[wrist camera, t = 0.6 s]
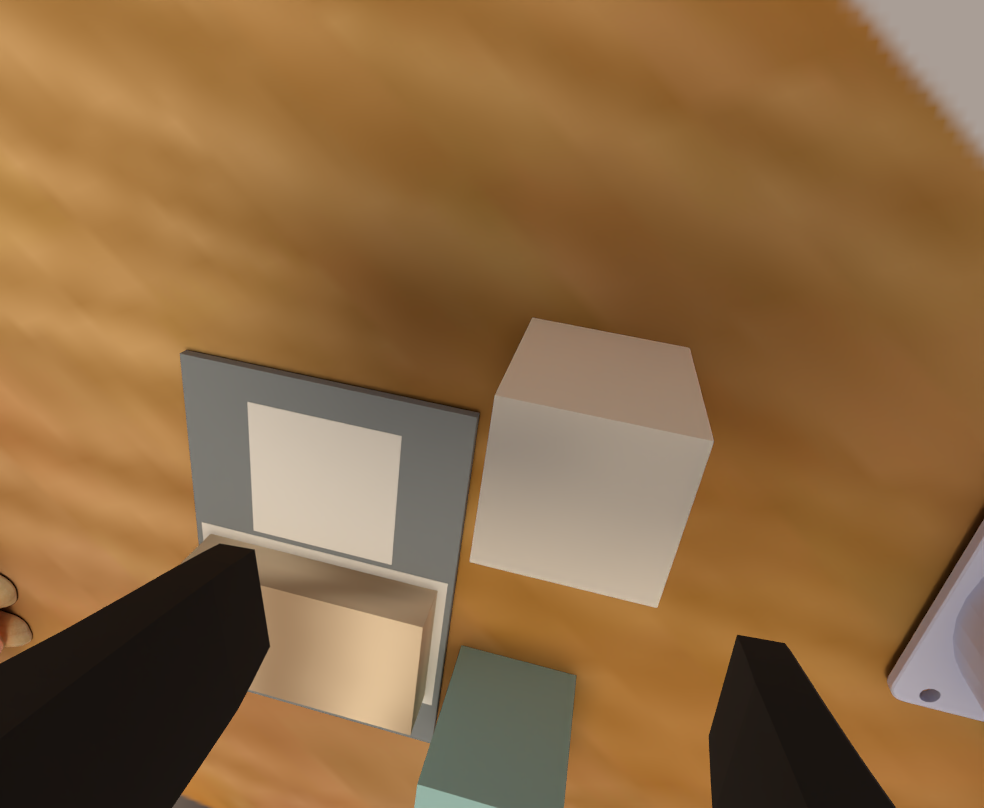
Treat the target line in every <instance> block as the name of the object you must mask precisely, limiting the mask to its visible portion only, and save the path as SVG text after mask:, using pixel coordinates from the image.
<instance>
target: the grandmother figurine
mask: <svg viewBox="0 0 984 808" xmlns="http://www.w3.org/2000/svg"><path fill="white" fill-rule="evenodd" d="M16 600H17V594H16V589H15V587H14V586H13V584H12V583H11V582H10V581H9V580H8V579H6V578H5V577H3V576H1V575H0V608H3V607H8V606H10V605H12V604H14V603H15V602H16ZM31 640H32V633H31V631H30V629H29V627H28V625H27V624H26V623H25V622H24V621H23V620H22V619H20V618H19V617H17V616H15V615H13V614H9V613H6V612H3V611H0V653H1V651H2V649H3V648H4V647H18V646H23V645H25V644H27V643H29V642H30V641H31Z"/></svg>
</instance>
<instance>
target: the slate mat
mask: <svg viewBox="0 0 984 808" xmlns="http://www.w3.org/2000/svg"><path fill="white" fill-rule="evenodd" d="M180 360H181V370H182V380H183V390H184V400H185V410H186V420H187V430H188V440H189V450H190V460H191V470H192V480H193V490H194V500H195V510H196V520H197V530H198V540H199V545H200V544H201V543H202V542H203V541H204V540H205V539H206V538H207V537H208V536H209V535H210V534H214V535H218V536H222V537H226V538H229V539H233V540H237V541H241V542H245V543H249V544H253V545H257V546H261V547H265V548H269V549H273V550H277V551H281V552H285V553H289V554H293V555H297V556H301V557H305V558H309V559H313V560H317V561H320V562H324V563H328V564H332V565H336V566H340V567H344V568H348V569H352V570H356V571H360V572H364V573H368V574H372V575H376V576H380V577H384V578H388V579H392V580H396V581H400V582H404V583H408V584H411V585H415V586H419V587H423V588H427V589H431V590H435V591H438V592H437V600H436V608H435V616H434V624H433V632H432V640H431V648H430V656H429V664H428V672H427V680H426V688H425V696H424V699H423V701H422V704H421V707H420V710H419V713H418V716H417V718H416V721H415V724H414V727H413V730H412V733H411V735H407V734H403V733H400V732H396V731H393V730H389V729H386V728H382V727H378V726H375V725H371V724H368V723H364V722H361V721H357V720H354V719H350V718H347V717H343V716H340V715H336V714H333V713H329V712H326V711H322V710H319V709H315V708H312V707H308V706H304V705H301V704H297V703H294V702H290V701H287V700H283V699H280V698H276V697H273V696H269V695H266V694H262V693H259V692H255V691H252V690H248V692H252V693H255V694H259V695H262V696H266V697H269V698H273V699H276V700H280V701H283V702H287V703H290V704H294V705H298V706H301V707H305V708H308V709H312V710H315V711H319V712H322V713H326V714H329V715H333V716H336V717H340V718H343V719H347V720H350V721H354V722H357V723H361V724H364V725H368V726H371V727H375V728H378V729H382V730H385V731H389V732H393V733H396V734H400V735H403V736H407V737H410V738H414V739H417V740H421V741H424V742H428V743H431V740H432V737H433V734H434V731H435V726H436V719H437V712H438V705H439V698H440V691H441V684H442V677H443V670H444V663H445V655H446V648H447V641H448V634H449V627H450V620H451V613H452V606H453V599H454V592H455V585H456V577H457V570H458V563H459V556H460V549H461V542H462V535H463V528H464V521H465V514H466V507H467V500H468V492H469V485H470V478H471V471H472V464H473V457H474V450H475V443H476V436H477V429H478V422H479V414H480V413H478V412H473V411H468V410H464V409H459V408H454V407H450V406H445V405H440V404H436V403H431V402H426V401H422V400H417V399H412V398H408V397H403V396H398V395H394V394H389V393H384V392H380V391H375V390H370V389H366V388H361V387H356V386H352V385H347V384H342V383H338V382H333V381H328V380H324V379H319V378H314V377H310V376H305V375H300V374H296V373H291V372H286V371H282V370H277V369H272V368H268V367H263V366H258V365H254V364H249V363H244V362H240V361H235V360H230V359H226V358H221V357H217V356H212V355H207V354H203V353H198V352H193V351H189V350H186V351H184V352H182V353H180Z"/></svg>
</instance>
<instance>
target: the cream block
mask: <svg viewBox="0 0 984 808" xmlns="http://www.w3.org/2000/svg"><path fill="white" fill-rule="evenodd" d="M713 443H714V439H713V435H712V431H711V428H710V424H709V420H708V416H707V412H706V408H705V405H704V401H703V397H702V393H701V389H700V385H699V381H698V378H697V374H696V370H695V366H694V362H693V358H692V355H691V351H690V348H688V347H683V346H678V345H673V344H667V343H662V342H657V341H652V340H647V339H642V338H636V337H631V336H626V335H621V334H616V333H610V332H605V331H600V330H595V329H590V328H585V327H579V326H574V325H569V324H564V323H559V322H554V321H548V320H543V319H538V318H533V317H532V319H531V321H530V323H529V325H528V327H527V330H526V332H525V334H524V336H523V338H522V340H521V342H520V344H519V346H518V348H517V350H516V352H515V354H514V356H513V359H512V361H511V363H510V365H509V367H508V369H507V371H506V373H505V375H504V377H503V379H502V381H501V383H500V385H499V387H498V390H497V392H496V394H495V397H494V404H493V410H492V417H491V423H490V430H489V437H488V443H487V450H486V456H485V463H484V470H483V476H482V483H481V489H480V496H479V503H478V509H477V516H476V523H475V529H474V536H473V542H472V549H471V556H470V562H472V563H476V564H480V565H484V566H488V567H492V568H496V569H500V570H504V571H508V572H512V573H516V574H520V575H524V576H529V577H533V578H537V579H541V580H545V581H549V582H553V583H557V584H561V585H565V586H569V587H573V588H577V589H581V590H586V591H590V592H594V593H598V594H602V595H606V596H610V597H614V598H618V599H622V600H626V601H630V602H634V603H639V604H643V605H647V606H651V607H655V608H657V607H658V604H659V601H660V598H661V595H662V592H663V589H664V586H665V584H666V581H667V578H668V575H669V572H670V569H671V566H672V563H673V560H674V557H675V554H676V551H677V548H678V546H679V543H680V540H681V537H682V534H683V531H684V528H685V525H686V522H687V519H688V516H689V513H690V510H691V507H692V505H693V502H694V499H695V496H696V493H697V490H698V487H699V484H700V481H701V478H702V475H703V472H704V469H705V466H706V464H707V461H708V458H709V455H710V452H711V449H712V446H713Z"/></svg>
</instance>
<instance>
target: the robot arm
mask: <svg viewBox="0 0 984 808" xmlns="http://www.w3.org/2000/svg"><path fill="white" fill-rule="evenodd" d="M269 648H270V642H269V636H268V629H267V623H266V617H265V611H264V604H263V598H262V592H261V585H260V579H259V573H258V567H257V560H256V554H255V549H249V548H243V547H238V546H232V545H226V544H221V543H219V544H218V545H216V546H214V547H212V548H210V549H208V550H206V551H204V552H202V553H200V554H198V555H196V556H195V557H193V558H191V559H189V560H187V561H186V562H184V563H182V564H180V565H178V566H177V567H175V568H173V569H171V570H170V571H168V572H166V573H164V574H163V575H161V576H159V577H157V578H156V579H154V580H152V581H150V582H149V583H147V584H145V585H143V586H142V587H140V588H138V589H136V590H135V591H133V592H131V593H129V594H128V595H126V596H124V597H122V598H120V599H119V600H117V601H115V602H113V603H112V604H110V605H108V606H106V607H104V608H103V609H101V610H99V611H97V612H96V613H94V614H92V615H90V616H89V617H87V618H85V619H83V620H81V621H80V622H78V623H76V624H74V625H73V626H71V627H69V628H67V629H65V630H63V631H62V632H60V633H58V634H56V635H54V636H52V637H50V638H48V639H46V640H44V641H42V642H41V643H39V644H37V645H35V646H33V647H31V648H29V649H27V650H25V651H23V652H22V653H20V654H18V655H16V656H14V657H12V658H10V659H8V660H6V661H4V662H2V663H1V664H0V808H172V807H173V805H174V804H175V803H176V801H177V800H178V798H179V797H180V795H181V794H182V792H183V791H184V789H185V788H186V786H187V785H188V783H189V782H190V780H191V779H192V777H193V776H194V775H195V773H196V772H197V770H198V769H199V767H200V766H201V764H202V763H203V761H204V760H205V758H206V757H207V755H208V754H209V752H210V751H211V749H212V748H213V746H214V745H215V743H216V742H217V740H218V739H219V737H220V736H221V734H222V733H223V731H224V730H225V728H226V727H227V725H228V724H229V722H230V721H231V719H232V718H233V716H234V714H235V713H236V711H237V710H238V708H239V706H240V704H241V702H242V701H243V699H244V697H245V695H246V693H247V691H248V689H249V688H250V686H251V684H252V682H253V680H254V678H255V676H256V674H257V672H258V670H259V668H260V666H261V664H262V662H263V660H264V658H265V656H266V654H267V652H268V650H269ZM887 683H888V686H889V688H890V691H891V693H892V695H893V696H894V697H895V698H896V699H899V700H901V701H904V702H908V703H912V704H916V705H920V706H924V707H928V708H932V709H936V710H940V711H943V712H947V713H951V714H955V715H959V716H963V717H967V718H971V719H975V720H979V721H983V722H984V520H983V521H982V523H981V525H980V526H979V528H978V530H977V531H976V533H975V535H974V536H973V538H972V540H971V541H970V543H969V544H968V546H967V548H966V549H965V551H964V553H963V554H962V556H961V558H960V559H959V561H958V563H957V564H956V566H955V567H954V569H953V571H952V572H951V574H950V576H949V577H948V579H947V581H946V582H945V584H944V586H943V587H942V589H941V591H940V592H939V594H938V595H937V597H936V599H935V600H934V602H933V604H932V605H931V607H930V609H929V610H928V612H927V614H926V615H925V617H924V618H923V620H922V622H921V623H920V625H919V627H918V628H917V630H916V632H915V633H914V635H913V637H912V638H911V640H910V642H909V643H908V645H907V646H906V648H905V650H904V651H903V653H902V655H901V656H900V658H899V660H898V661H897V663H896V665H895V666H894V668H893V670H892V671H891V673H890V674H889V676H888V679H887ZM926 689H930V690H926ZM923 690H926V691H923ZM709 752H710V774H711V792H712V808H896V807H895V806H894V804H893V803H892V801H891V800H890V799H889V797H888V796H887V794H886V793H885V792H884V790H883V789H882V787H881V786H880V785H879V783H878V782H877V780H876V779H875V777H874V776H873V775H872V773H871V772H870V770H869V769H868V768H867V766H866V765H865V763H864V762H863V760H862V759H861V757H860V756H859V754H858V753H857V751H856V750H855V749H854V747H853V746H852V744H851V743H850V741H849V740H848V738H847V737H846V735H845V734H844V732H843V731H842V729H841V728H840V726H839V725H838V723H837V722H836V720H835V719H834V717H833V716H832V714H831V712H830V711H829V709H828V708H827V706H826V705H825V703H824V702H823V700H822V699H821V697H820V696H819V694H818V692H817V691H816V689H815V688H814V686H813V685H812V683H811V682H810V680H809V679H808V677H807V675H806V674H805V672H804V671H803V669H802V668H801V666H800V664H799V663H798V661H797V660H796V658H795V657H794V655H793V654H792V652H791V651H790V649H789V648H788V647H787V646H786V644H785V643H780V642H775V641H769V640H764V639H758V638H752V637H747V636H741V635H737V637H736V641H735V645H734V648H733V652H732V655H731V659H730V662H729V666H728V670H727V673H726V677H725V680H724V684H723V687H722V691H721V695H720V698H719V702H718V705H717V709H716V712H715V716H714V719H713V723H712V727H711V730H710V734H709Z"/></svg>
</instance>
